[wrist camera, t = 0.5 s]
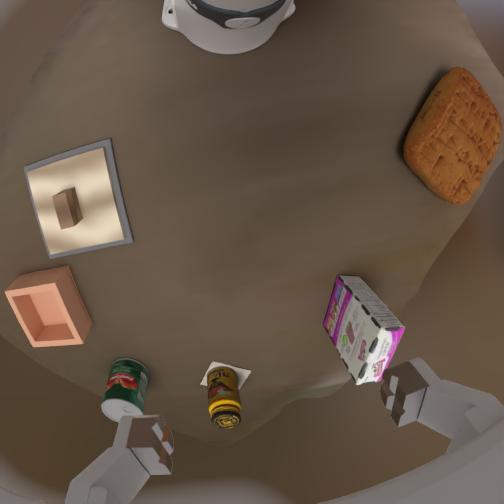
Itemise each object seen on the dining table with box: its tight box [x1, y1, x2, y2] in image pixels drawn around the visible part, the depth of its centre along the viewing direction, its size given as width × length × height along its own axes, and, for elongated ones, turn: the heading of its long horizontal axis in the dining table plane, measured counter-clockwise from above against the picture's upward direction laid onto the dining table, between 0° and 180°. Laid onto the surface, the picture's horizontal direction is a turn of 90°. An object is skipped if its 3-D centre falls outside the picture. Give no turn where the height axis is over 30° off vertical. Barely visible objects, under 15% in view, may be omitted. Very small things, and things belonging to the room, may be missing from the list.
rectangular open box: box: [5, 265, 92, 347], centre depth 44 cm, size 12×12×6 cm
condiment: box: [201, 362, 251, 429], centre depth 54 cm, size 7×8×12 cm
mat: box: [24, 138, 134, 259], centre depth 41 cm, size 16×16×1 cm
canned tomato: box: [101, 358, 149, 422], centre depth 50 cm, size 8×8×11 cm
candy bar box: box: [323, 275, 405, 385], centre depth 48 cm, size 11×5×16 cm, turn 173°
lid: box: [27, 147, 125, 255], centre depth 38 cm, size 14×14×4 cm
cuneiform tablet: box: [403, 67, 502, 204], centre depth 41 cm, size 22×17×8 cm
